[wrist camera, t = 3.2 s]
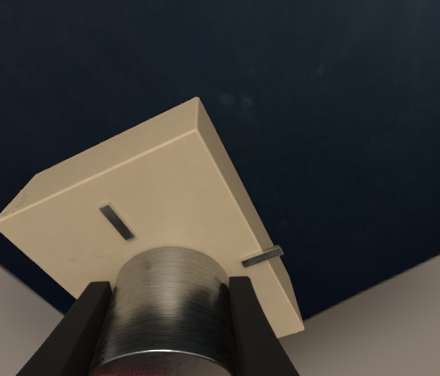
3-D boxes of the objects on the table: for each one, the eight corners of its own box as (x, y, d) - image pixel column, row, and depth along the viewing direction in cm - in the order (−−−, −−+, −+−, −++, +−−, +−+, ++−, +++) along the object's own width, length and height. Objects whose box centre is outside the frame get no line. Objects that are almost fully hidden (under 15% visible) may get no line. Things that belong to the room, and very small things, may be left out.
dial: (231, 245, 10) (243, 361, 7) (227, 320, 12) (235, 435, 9) (107, 247, 10) (62, 367, 7) (125, 323, 12) (97, 442, 9)
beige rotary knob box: (300, 271, 16) (320, 330, 13) (157, 320, 17) (149, 381, 14) (214, 87, 10) (218, 120, 8) (22, 180, 12) (-29, 234, 9)
